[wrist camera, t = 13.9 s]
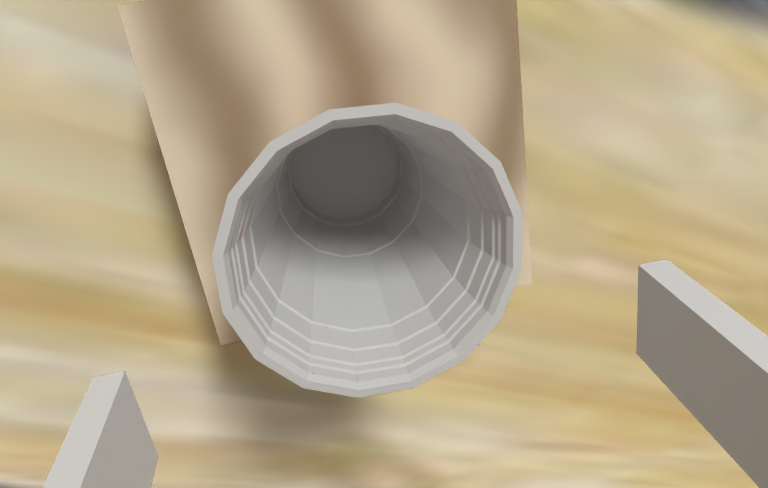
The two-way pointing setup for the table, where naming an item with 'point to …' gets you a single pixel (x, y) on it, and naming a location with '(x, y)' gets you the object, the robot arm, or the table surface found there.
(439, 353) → the plastic cup
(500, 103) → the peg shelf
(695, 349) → the robot arm
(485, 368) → the table surface
